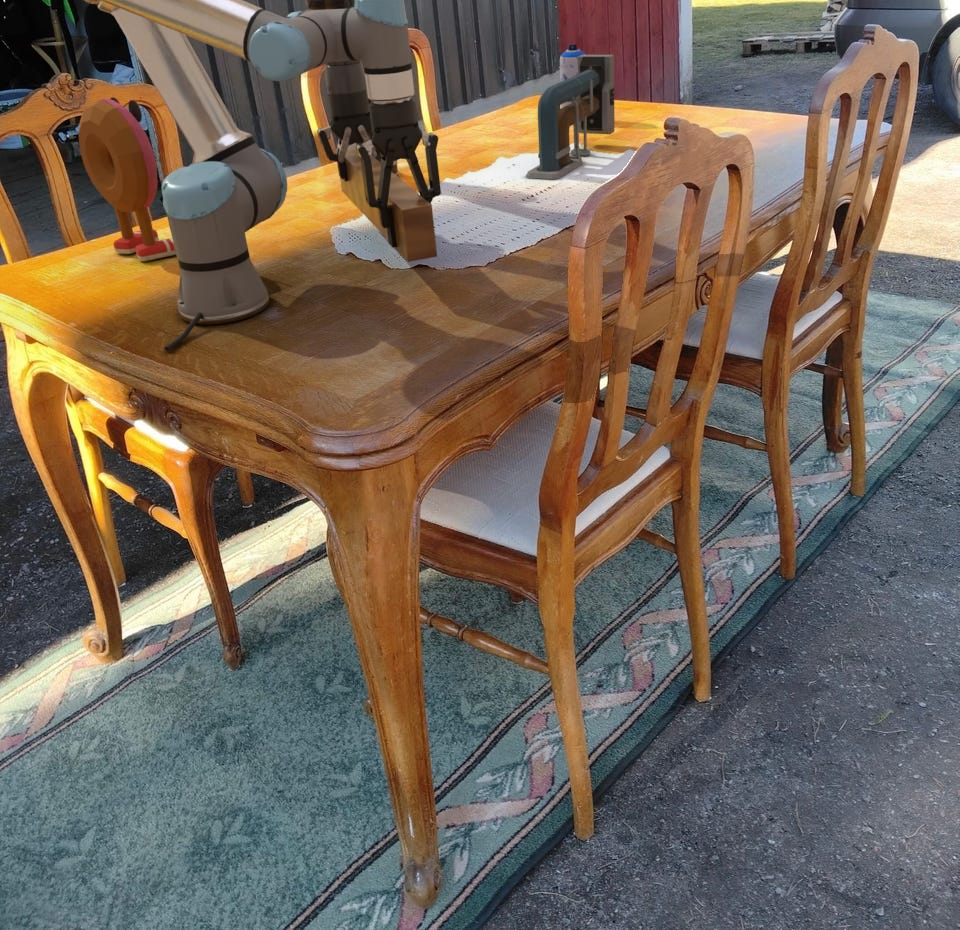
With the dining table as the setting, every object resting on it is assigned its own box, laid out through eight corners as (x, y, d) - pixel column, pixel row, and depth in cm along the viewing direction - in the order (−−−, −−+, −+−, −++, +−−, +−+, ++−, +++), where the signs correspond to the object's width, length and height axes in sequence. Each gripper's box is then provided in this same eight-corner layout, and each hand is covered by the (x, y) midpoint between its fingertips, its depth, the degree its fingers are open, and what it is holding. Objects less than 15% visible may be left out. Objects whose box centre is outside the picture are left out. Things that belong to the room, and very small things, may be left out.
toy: (199, 253, 194) (163, 96, 179) (154, 268, 188) (113, 106, 173) (144, 236, 207) (106, 89, 192) (101, 250, 201) (58, 98, 186)
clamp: (557, 179, 222) (554, 81, 212) (523, 177, 226) (518, 80, 215) (614, 143, 248) (614, 54, 237) (583, 142, 252) (581, 54, 241)
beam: (437, 256, 159) (431, 204, 155) (408, 262, 158) (401, 209, 154) (365, 187, 201) (359, 145, 197) (341, 191, 200) (335, 148, 196)
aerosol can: (559, 122, 275) (557, 47, 265) (562, 117, 282) (559, 42, 272) (587, 121, 274) (585, 45, 263) (589, 115, 280) (587, 41, 270)
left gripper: (439, 88, 158) (452, 227, 170) (331, 103, 154) (352, 245, 166) (453, 94, 152) (466, 238, 164) (341, 111, 148) (362, 258, 160)
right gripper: (378, 80, 189) (389, 169, 197) (306, 90, 185) (320, 180, 194) (388, 85, 182) (399, 176, 191) (313, 96, 179) (327, 188, 187)
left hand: (409, 242), depth 165 cm, fingers closed on beam, 5 cm apart
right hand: (359, 178), depth 192 cm, fingers closed on beam, 5 cm apart
